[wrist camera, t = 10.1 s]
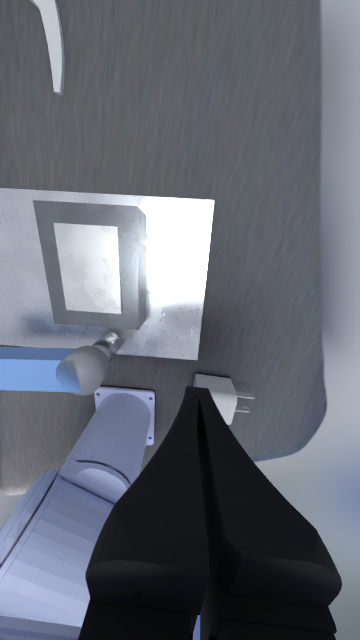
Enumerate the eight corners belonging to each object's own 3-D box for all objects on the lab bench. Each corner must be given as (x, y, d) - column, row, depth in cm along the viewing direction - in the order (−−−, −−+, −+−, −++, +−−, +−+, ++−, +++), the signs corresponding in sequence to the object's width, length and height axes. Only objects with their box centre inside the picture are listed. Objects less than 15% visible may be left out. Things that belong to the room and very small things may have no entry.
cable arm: (108, 346, 16) (96, 357, 14) (112, 380, 17) (103, 396, 15) (-73, 342, 16) (-107, 353, 14) (-56, 375, 17) (-86, 389, 16)
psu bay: (197, 355, 22) (199, 383, 17) (4, 340, 22) (-47, 363, 17) (212, 203, 16) (222, 180, 12) (-38, 189, 17) (-128, 161, 12)
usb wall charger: (195, 371, 22) (197, 393, 19) (250, 378, 22) (262, 402, 19) (191, 396, 24) (191, 422, 20) (242, 403, 24) (252, 431, 20)
